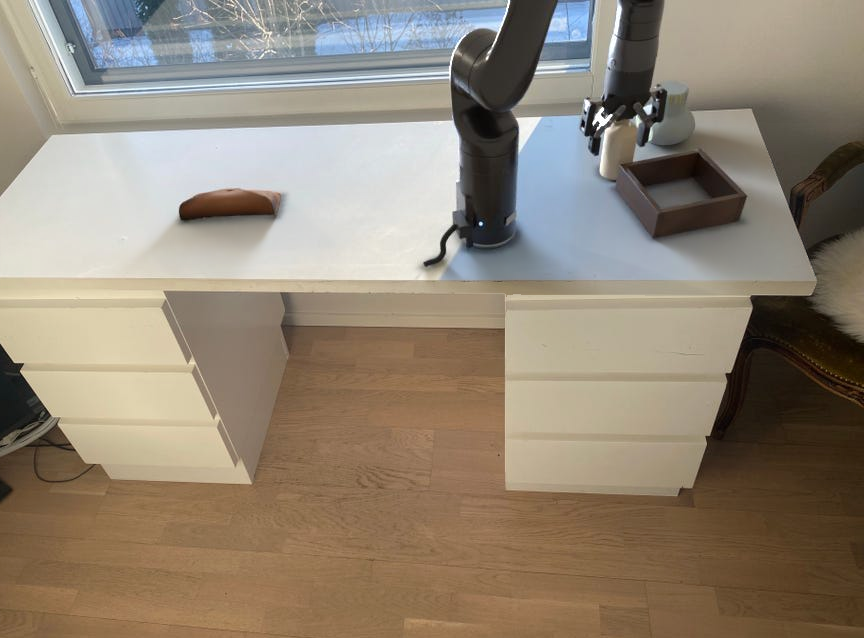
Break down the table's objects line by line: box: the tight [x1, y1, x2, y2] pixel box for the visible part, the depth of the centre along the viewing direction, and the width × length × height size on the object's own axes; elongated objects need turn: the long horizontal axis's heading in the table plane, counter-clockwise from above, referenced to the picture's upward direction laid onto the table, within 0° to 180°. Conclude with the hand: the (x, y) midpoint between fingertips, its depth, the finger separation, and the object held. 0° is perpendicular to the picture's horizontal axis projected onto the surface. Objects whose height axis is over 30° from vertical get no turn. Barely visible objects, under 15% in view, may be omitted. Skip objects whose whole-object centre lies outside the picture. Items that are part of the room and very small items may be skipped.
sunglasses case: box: [178, 187, 282, 222], centre depth 134 cm, size 18×7×7 cm
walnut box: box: [614, 148, 748, 239], centre depth 121 cm, size 15×15×5 cm
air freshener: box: [635, 80, 696, 146], centre depth 134 cm, size 11×8×10 cm
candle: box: [599, 119, 638, 181], centre depth 128 cm, size 6×6×10 cm
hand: (617, 149), depth 128 cm, fingers open, 8 cm apart
